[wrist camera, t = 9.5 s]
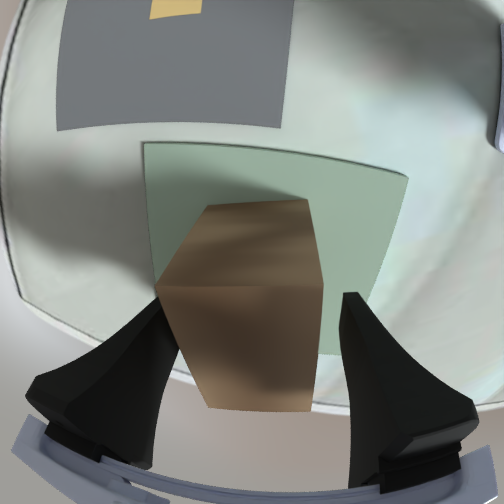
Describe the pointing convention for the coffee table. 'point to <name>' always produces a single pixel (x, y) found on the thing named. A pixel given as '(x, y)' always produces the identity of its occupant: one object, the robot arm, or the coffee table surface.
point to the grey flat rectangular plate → (173, 62)
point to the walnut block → (248, 305)
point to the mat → (275, 189)
